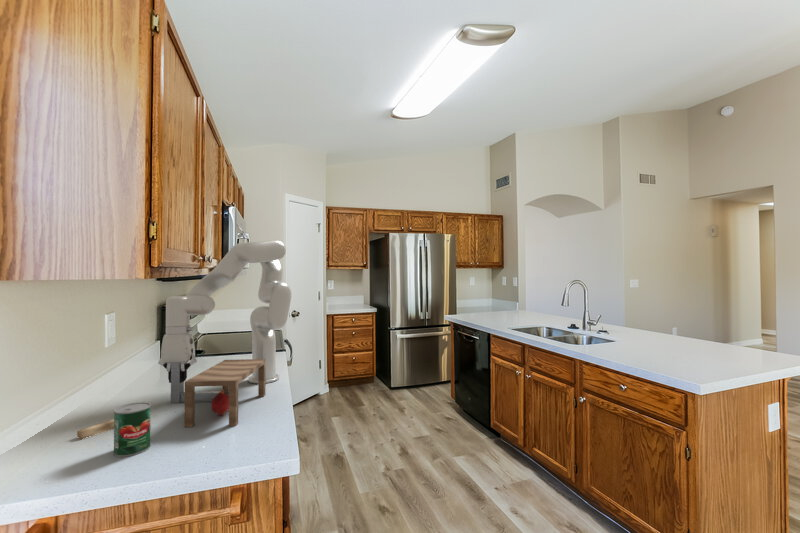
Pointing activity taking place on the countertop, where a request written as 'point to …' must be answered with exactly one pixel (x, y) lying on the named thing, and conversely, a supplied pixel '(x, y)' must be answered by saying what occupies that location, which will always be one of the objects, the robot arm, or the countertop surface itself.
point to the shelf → (224, 384)
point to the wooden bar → (96, 429)
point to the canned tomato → (132, 429)
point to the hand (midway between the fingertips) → (177, 381)
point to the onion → (220, 403)
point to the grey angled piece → (178, 388)
